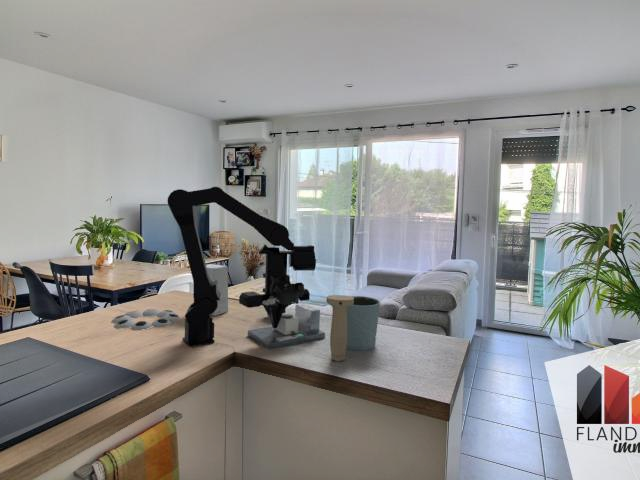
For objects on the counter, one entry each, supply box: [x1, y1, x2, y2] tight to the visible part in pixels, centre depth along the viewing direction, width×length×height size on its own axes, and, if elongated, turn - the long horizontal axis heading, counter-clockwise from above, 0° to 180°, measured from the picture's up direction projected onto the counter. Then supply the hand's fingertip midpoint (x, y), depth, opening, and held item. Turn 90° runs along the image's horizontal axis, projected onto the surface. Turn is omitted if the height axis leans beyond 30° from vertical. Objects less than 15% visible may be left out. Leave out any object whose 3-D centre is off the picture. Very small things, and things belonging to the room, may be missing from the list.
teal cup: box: [346, 295, 381, 351], centre depth 103 cm, size 10×10×12 cm
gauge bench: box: [247, 303, 326, 350], centre depth 108 cm, size 18×12×8 cm
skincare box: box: [206, 263, 229, 317], centre depth 129 cm, size 8×7×16 cm
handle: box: [326, 294, 354, 363], centre depth 93 cm, size 5×6×15 cm
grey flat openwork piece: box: [111, 308, 182, 331], centre depth 119 cm, size 20×20×2 cm
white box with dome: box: [274, 312, 299, 335], centre depth 107 cm, size 6×8×4 cm, turn 36°
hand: (274, 327), depth 106 cm, fingers closed
